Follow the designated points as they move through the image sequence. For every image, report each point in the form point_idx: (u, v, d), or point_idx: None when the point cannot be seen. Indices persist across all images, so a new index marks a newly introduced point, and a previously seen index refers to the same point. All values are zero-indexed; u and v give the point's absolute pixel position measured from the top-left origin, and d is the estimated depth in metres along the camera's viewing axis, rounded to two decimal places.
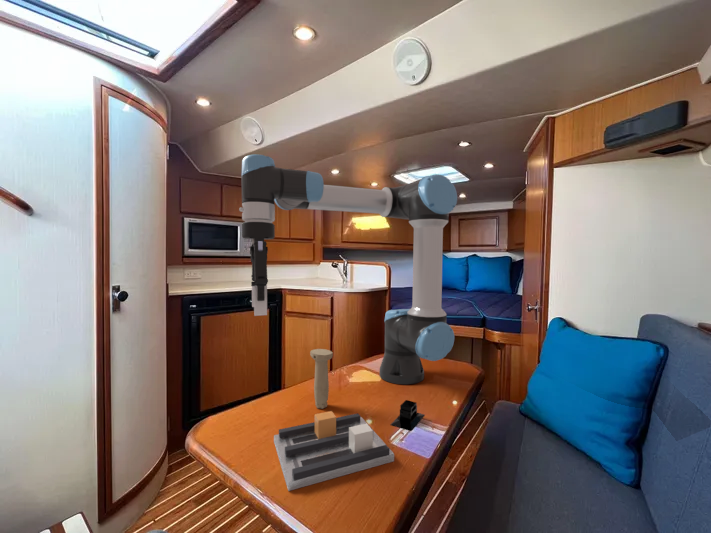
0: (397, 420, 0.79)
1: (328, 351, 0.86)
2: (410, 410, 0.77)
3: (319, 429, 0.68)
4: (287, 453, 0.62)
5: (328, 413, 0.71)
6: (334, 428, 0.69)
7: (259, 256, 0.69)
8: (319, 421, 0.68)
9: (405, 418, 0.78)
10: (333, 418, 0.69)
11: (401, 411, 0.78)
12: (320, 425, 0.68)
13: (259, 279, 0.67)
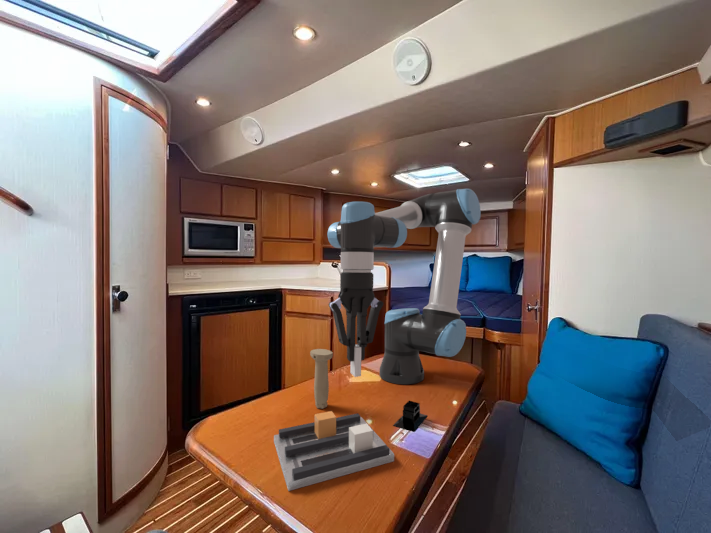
0: (400, 421, 0.78)
1: (328, 351, 0.86)
2: (413, 411, 0.77)
3: (319, 429, 0.68)
4: (287, 453, 0.62)
5: (328, 413, 0.71)
6: (334, 428, 0.69)
7: (335, 318, 0.71)
8: (319, 421, 0.68)
9: (408, 419, 0.77)
10: (333, 418, 0.69)
11: (404, 412, 0.78)
12: (320, 425, 0.68)
13: (340, 339, 0.71)
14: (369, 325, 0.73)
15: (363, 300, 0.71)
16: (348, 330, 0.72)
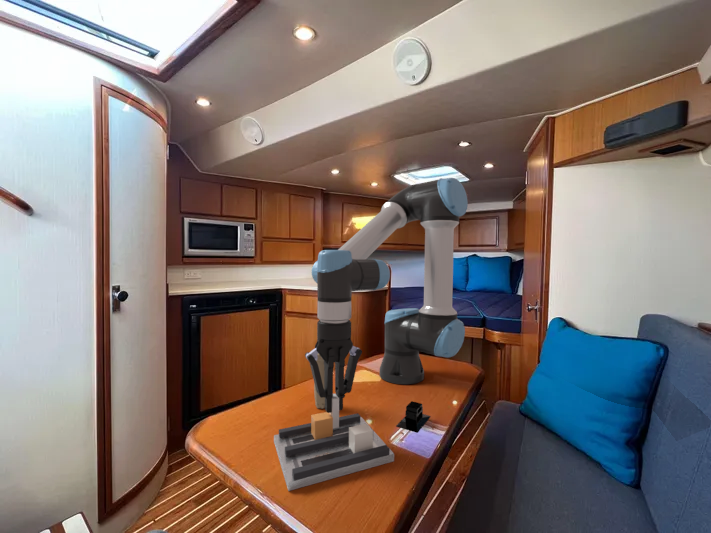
0: (403, 421, 0.78)
1: None
2: (416, 411, 0.77)
3: (316, 430, 0.68)
4: (287, 453, 0.62)
5: (325, 414, 0.70)
6: (331, 429, 0.69)
7: (312, 369, 0.69)
8: (316, 422, 0.68)
9: (411, 419, 0.77)
10: (330, 419, 0.69)
11: (407, 412, 0.78)
12: (317, 426, 0.68)
13: (317, 390, 0.70)
14: (348, 374, 0.71)
15: (340, 350, 0.69)
16: (326, 381, 0.70)
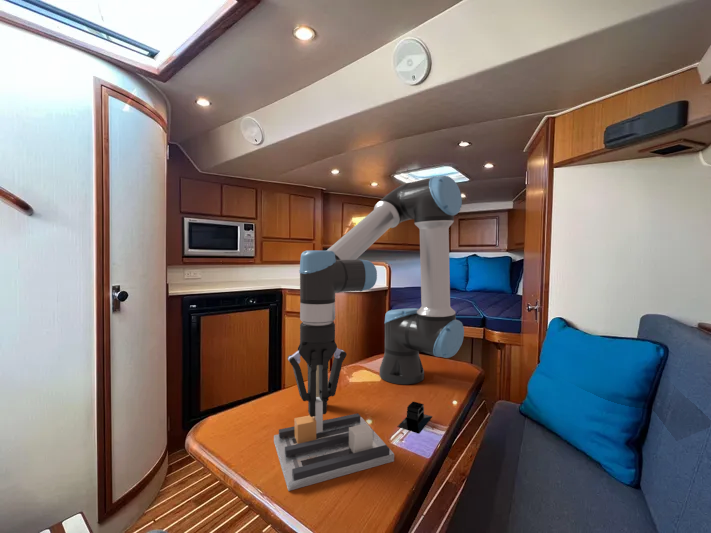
0: (404, 422, 0.78)
1: None
2: (417, 412, 0.77)
3: (298, 433, 0.66)
4: (287, 453, 0.62)
5: (309, 417, 0.69)
6: (314, 432, 0.68)
7: (294, 372, 0.67)
8: (298, 425, 0.66)
9: (412, 420, 0.77)
10: (313, 422, 0.67)
11: (408, 413, 0.78)
12: (300, 429, 0.66)
13: (300, 394, 0.68)
14: (332, 377, 0.70)
15: (324, 353, 0.68)
16: (309, 384, 0.68)
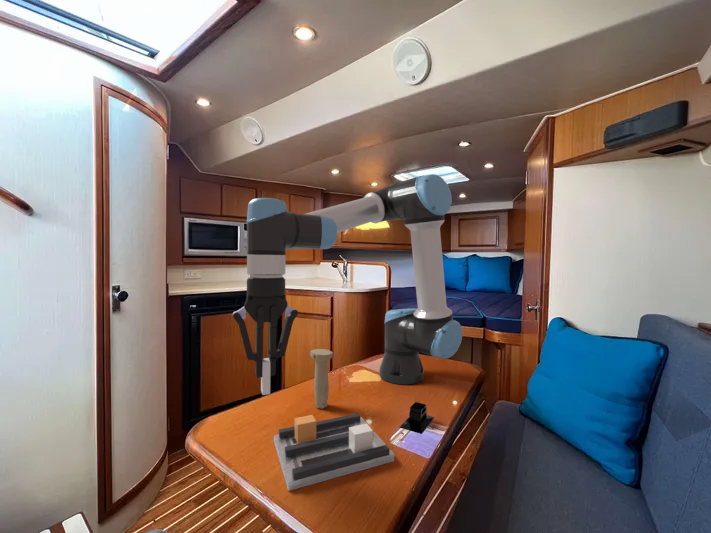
0: (407, 422, 0.78)
1: (328, 351, 0.87)
2: (420, 412, 0.76)
3: (298, 433, 0.66)
4: (287, 453, 0.62)
5: (309, 417, 0.69)
6: (314, 432, 0.68)
7: None
8: (298, 425, 0.66)
9: (415, 420, 0.77)
10: (313, 422, 0.67)
11: (411, 413, 0.77)
12: (300, 429, 0.66)
13: None
14: (282, 337, 0.65)
15: (271, 309, 0.63)
16: (256, 343, 0.64)
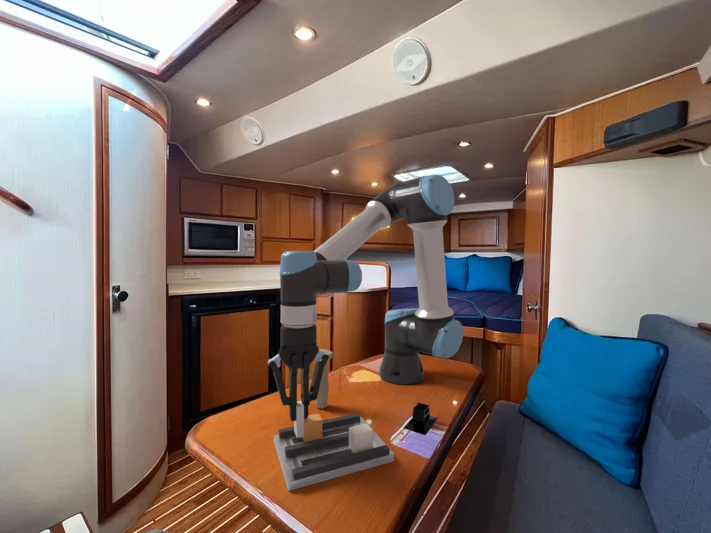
0: (410, 423, 0.77)
1: (328, 351, 0.86)
2: (423, 413, 0.76)
3: (305, 432, 0.67)
4: (287, 453, 0.62)
5: (315, 416, 0.70)
6: (320, 431, 0.68)
7: None
8: (305, 424, 0.67)
9: (418, 421, 0.76)
10: (319, 421, 0.68)
11: (414, 414, 0.77)
12: (306, 428, 0.67)
13: (281, 398, 0.67)
14: (314, 381, 0.68)
15: (304, 356, 0.66)
16: (290, 388, 0.67)
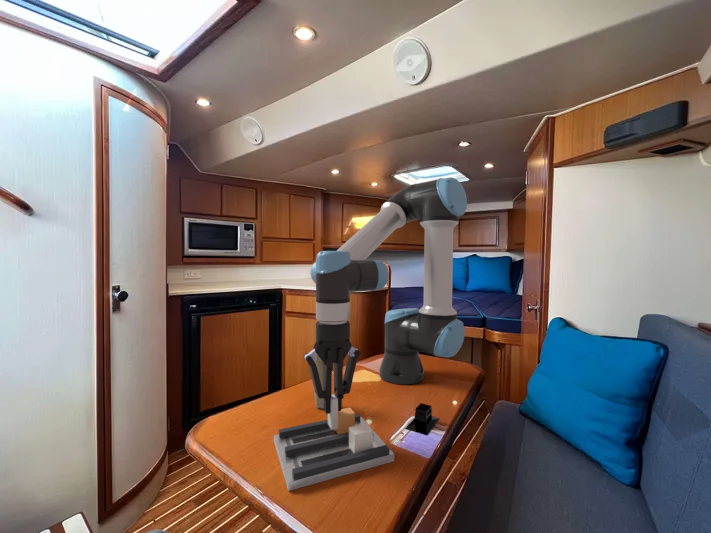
0: (412, 424, 0.77)
1: None
2: (425, 413, 0.76)
3: (339, 425, 0.70)
4: (287, 453, 0.62)
5: (347, 410, 0.73)
6: (353, 424, 0.71)
7: (310, 370, 0.69)
8: (339, 417, 0.70)
9: (420, 422, 0.76)
10: (352, 414, 0.71)
11: (416, 414, 0.77)
12: (340, 421, 0.70)
13: (316, 391, 0.70)
14: (346, 375, 0.71)
15: (339, 351, 0.69)
16: (324, 382, 0.70)
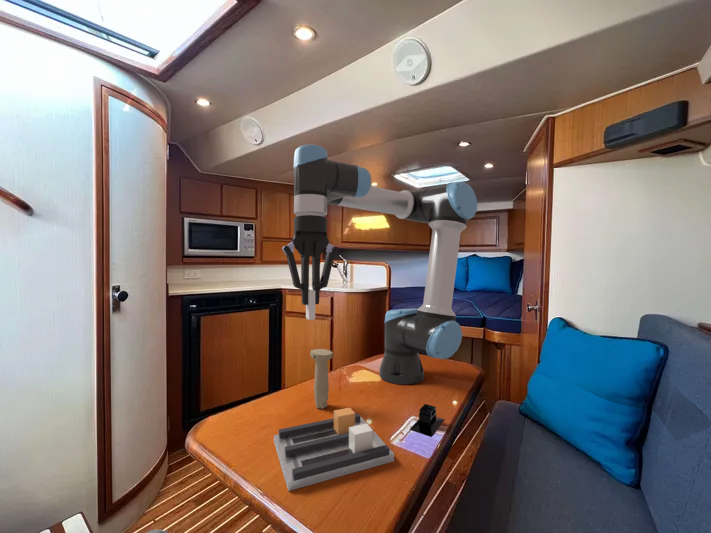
0: (416, 425, 0.77)
1: (328, 351, 0.86)
2: (430, 414, 0.75)
3: (339, 425, 0.70)
4: (287, 453, 0.62)
5: (347, 410, 0.73)
6: (353, 424, 0.71)
7: (288, 262, 0.71)
8: (339, 417, 0.70)
9: (425, 423, 0.76)
10: (352, 414, 0.71)
11: (420, 415, 0.76)
12: (340, 421, 0.70)
13: (294, 283, 0.72)
14: (324, 270, 0.74)
15: (316, 244, 0.72)
16: (302, 275, 0.72)
